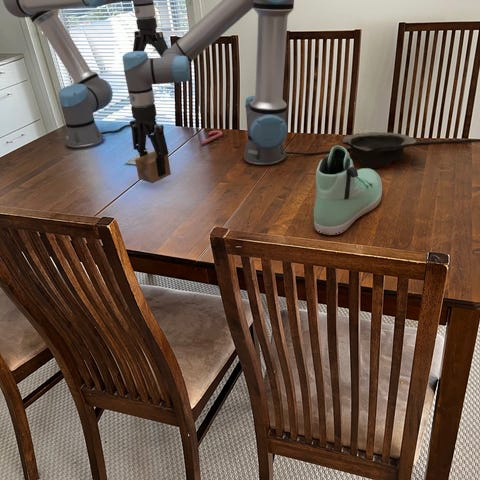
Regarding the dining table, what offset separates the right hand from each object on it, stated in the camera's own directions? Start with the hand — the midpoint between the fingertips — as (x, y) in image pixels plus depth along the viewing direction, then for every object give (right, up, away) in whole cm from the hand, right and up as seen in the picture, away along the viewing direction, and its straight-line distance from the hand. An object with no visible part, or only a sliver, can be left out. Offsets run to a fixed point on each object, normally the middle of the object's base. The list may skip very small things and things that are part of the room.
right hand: (154, 172), depth 162 cm
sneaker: (+60, -14, -23) cm, 66 cm away
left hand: (-5, +43, +31) cm, 54 cm away
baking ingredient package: (-7, +9, +23) cm, 26 cm away
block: (0, -1, +1) cm, 2 cm away
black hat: (+77, +6, +7) cm, 77 cm away
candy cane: (+17, +19, +36) cm, 44 cm away
